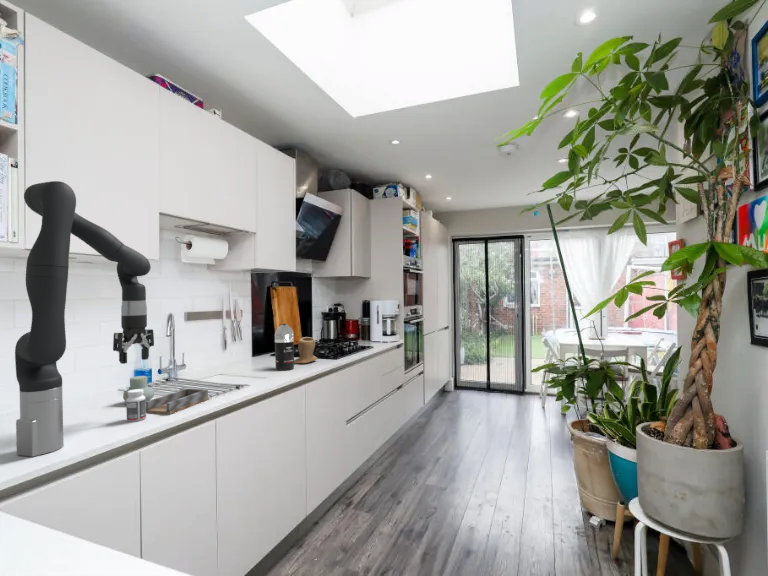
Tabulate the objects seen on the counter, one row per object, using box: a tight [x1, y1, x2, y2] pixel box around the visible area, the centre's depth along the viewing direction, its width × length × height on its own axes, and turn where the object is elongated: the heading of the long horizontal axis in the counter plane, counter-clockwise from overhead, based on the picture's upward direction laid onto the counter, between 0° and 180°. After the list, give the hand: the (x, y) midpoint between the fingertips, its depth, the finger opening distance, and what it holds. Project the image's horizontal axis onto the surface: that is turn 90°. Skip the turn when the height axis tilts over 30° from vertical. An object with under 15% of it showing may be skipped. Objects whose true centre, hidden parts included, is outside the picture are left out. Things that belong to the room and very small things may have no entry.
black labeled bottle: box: [274, 323, 295, 371], centre depth 227 cm, size 10×10×25 cm
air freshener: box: [122, 375, 155, 403], centre depth 164 cm, size 11×8×10 cm
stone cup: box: [294, 336, 319, 364], centre depth 246 cm, size 15×12×15 cm
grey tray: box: [146, 388, 210, 415], centre depth 157 cm, size 20×11×4 cm, turn 164°
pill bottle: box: [125, 389, 147, 423], centre depth 142 cm, size 6×6×10 cm
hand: (134, 361), depth 142 cm, fingers open, 8 cm apart
